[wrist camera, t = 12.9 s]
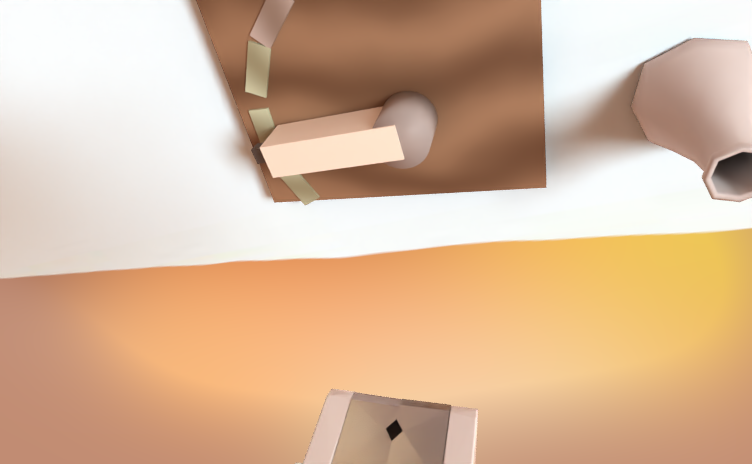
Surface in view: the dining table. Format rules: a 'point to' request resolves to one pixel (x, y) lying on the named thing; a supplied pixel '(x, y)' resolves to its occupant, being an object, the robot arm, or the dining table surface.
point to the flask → (702, 110)
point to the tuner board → (392, 85)
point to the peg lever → (353, 138)
